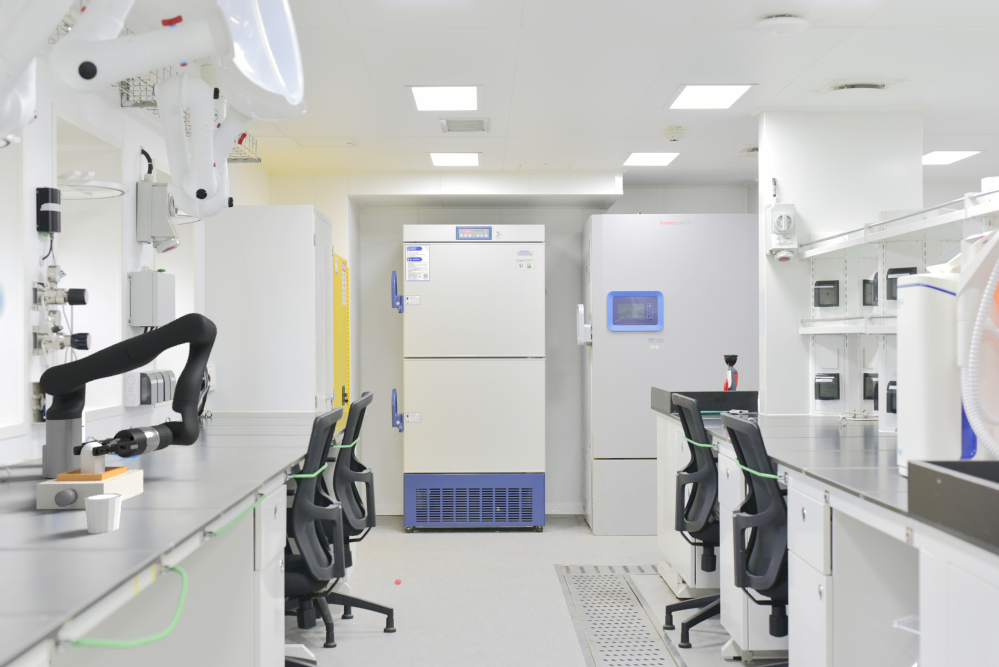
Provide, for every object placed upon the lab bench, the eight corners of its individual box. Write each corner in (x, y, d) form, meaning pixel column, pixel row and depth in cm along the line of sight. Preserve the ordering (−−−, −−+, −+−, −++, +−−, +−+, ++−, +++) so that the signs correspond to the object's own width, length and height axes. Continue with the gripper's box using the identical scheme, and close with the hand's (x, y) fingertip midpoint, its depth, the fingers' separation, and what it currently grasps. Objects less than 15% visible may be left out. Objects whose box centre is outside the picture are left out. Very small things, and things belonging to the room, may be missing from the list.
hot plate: (27, 512, 160) (27, 480, 160) (82, 493, 181) (82, 464, 181) (96, 511, 160) (96, 479, 160) (143, 492, 181) (143, 463, 181)
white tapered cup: (126, 529, 144) (126, 495, 144) (90, 536, 139) (90, 501, 139) (115, 523, 148) (115, 491, 149) (79, 530, 143) (79, 496, 144)
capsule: (97, 471, 175) (96, 440, 176) (109, 472, 173) (109, 441, 173) (76, 475, 171) (75, 442, 171) (88, 476, 168) (88, 444, 168)
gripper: (115, 427, 188) (60, 435, 171) (158, 428, 184) (107, 437, 168) (115, 454, 188) (60, 465, 171) (159, 456, 184) (107, 467, 167)
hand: (84, 451), depth 169 cm, fingers closed on capsule, 5 cm apart
